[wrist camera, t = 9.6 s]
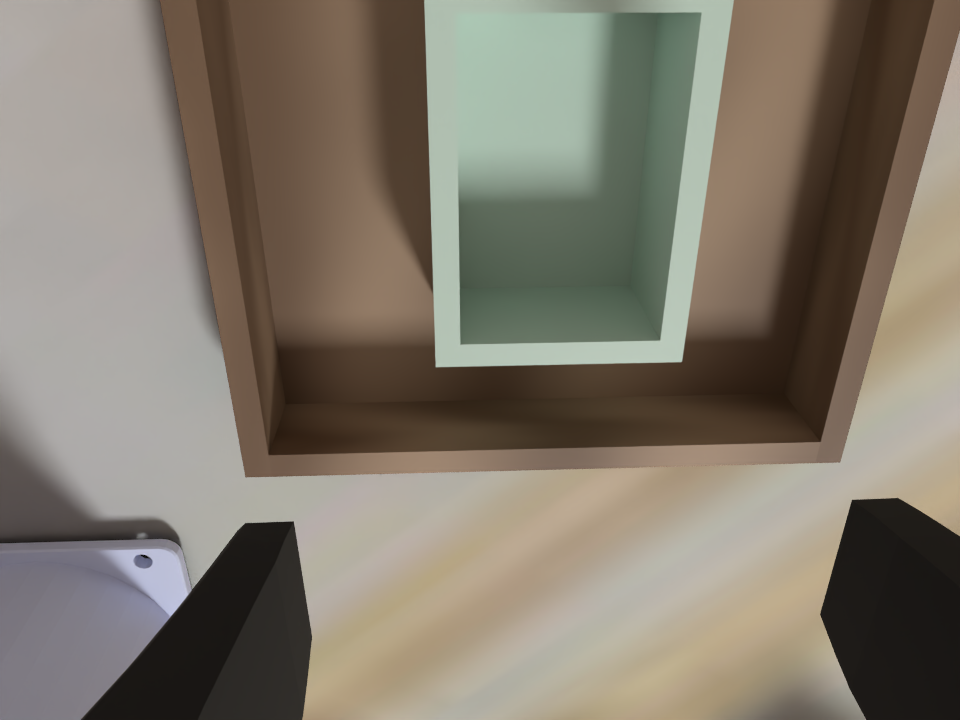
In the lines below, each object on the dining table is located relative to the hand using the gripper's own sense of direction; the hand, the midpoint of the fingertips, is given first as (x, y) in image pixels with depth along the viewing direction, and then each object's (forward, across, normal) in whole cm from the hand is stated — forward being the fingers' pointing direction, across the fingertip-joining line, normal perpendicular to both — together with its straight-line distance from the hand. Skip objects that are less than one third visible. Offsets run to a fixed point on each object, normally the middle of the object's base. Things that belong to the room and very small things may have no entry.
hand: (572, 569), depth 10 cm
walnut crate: (+10, -1, -3) cm, 10 cm away
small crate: (+9, -1, -3) cm, 10 cm away
